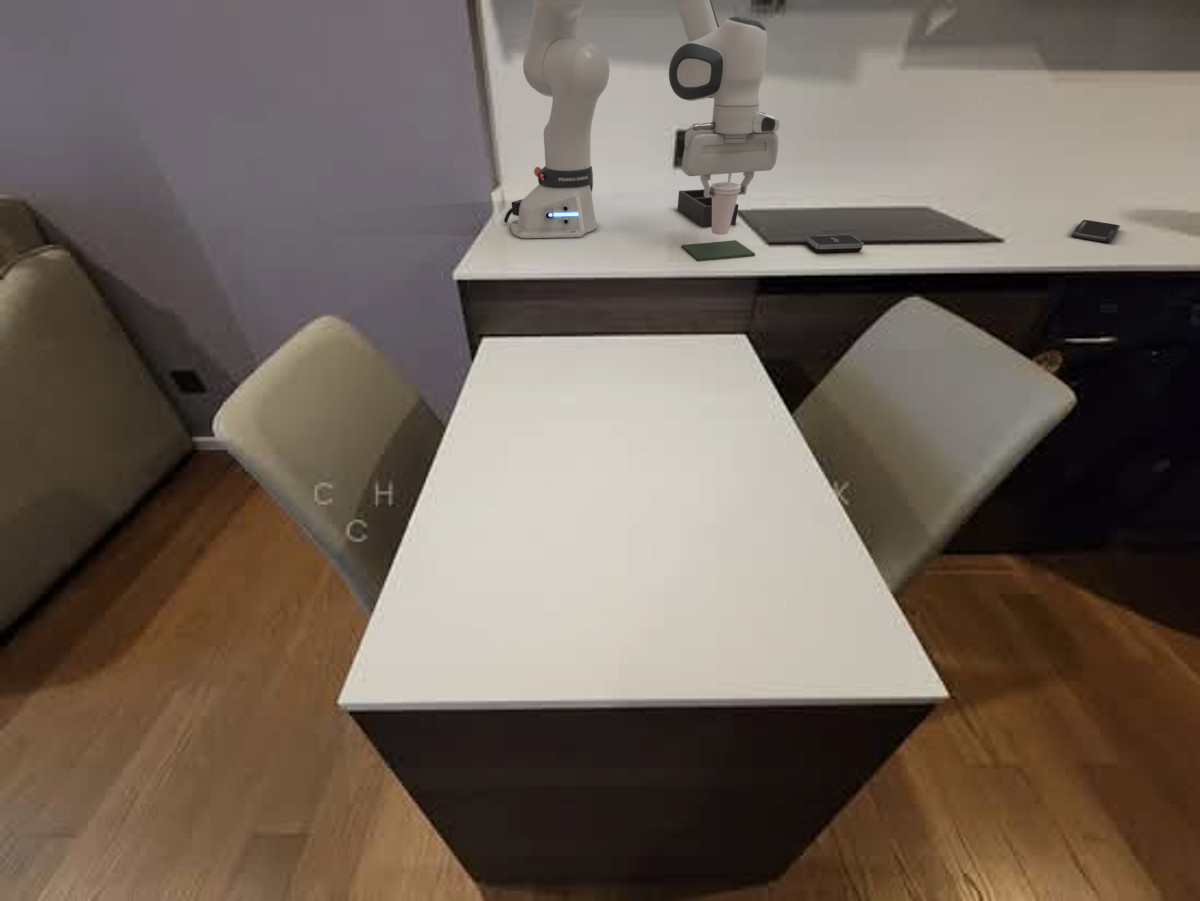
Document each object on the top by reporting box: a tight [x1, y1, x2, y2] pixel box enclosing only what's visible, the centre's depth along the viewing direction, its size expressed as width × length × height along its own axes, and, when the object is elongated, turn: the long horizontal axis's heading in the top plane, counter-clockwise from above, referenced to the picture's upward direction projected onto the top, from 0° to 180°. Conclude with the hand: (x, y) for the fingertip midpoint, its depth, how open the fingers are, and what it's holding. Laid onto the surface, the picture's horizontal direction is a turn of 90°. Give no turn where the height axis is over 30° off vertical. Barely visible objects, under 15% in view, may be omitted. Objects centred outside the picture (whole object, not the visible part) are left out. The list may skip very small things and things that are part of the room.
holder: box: [677, 188, 739, 228], centre depth 143 cm, size 18×10×5 cm, turn 14°
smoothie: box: [710, 173, 741, 236], centre depth 115 cm, size 6×6×14 cm
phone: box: [1071, 219, 1121, 244], centre depth 131 cm, size 8×1×15 cm
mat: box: [680, 239, 756, 262], centre depth 122 cm, size 14×10×1 cm
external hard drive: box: [805, 234, 864, 254], centre depth 123 cm, size 7×11×2 cm, turn 95°
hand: (724, 195), depth 115 cm, fingers closed on smoothie, 6 cm apart
